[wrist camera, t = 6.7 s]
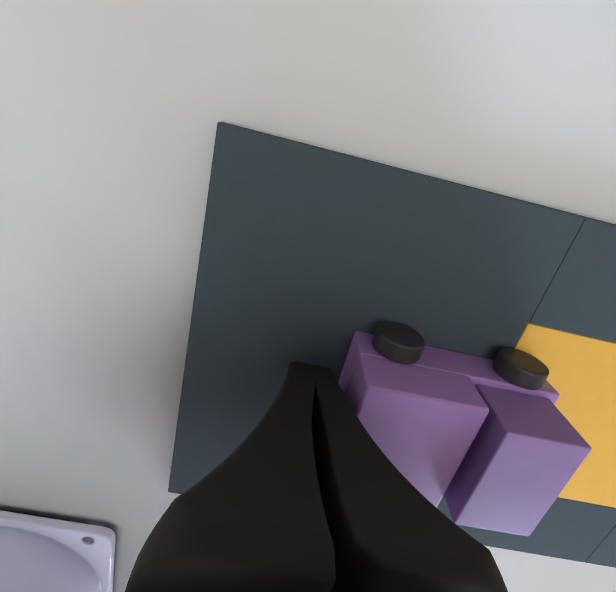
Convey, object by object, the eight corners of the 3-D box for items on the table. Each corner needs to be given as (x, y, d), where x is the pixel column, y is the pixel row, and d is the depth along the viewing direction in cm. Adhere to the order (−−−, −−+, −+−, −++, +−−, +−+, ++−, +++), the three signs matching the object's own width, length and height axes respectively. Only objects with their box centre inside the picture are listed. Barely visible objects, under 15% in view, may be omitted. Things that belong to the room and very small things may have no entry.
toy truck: (319, 435, 14) (322, 522, 11) (359, 313, 12) (377, 378, 9) (481, 465, 15) (526, 555, 12) (545, 353, 13) (621, 427, 10)
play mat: (171, 483, 16) (167, 492, 16) (220, 121, 10) (217, 121, 10) (627, 561, 18) (633, 571, 18) (876, 292, 12) (893, 298, 12)
